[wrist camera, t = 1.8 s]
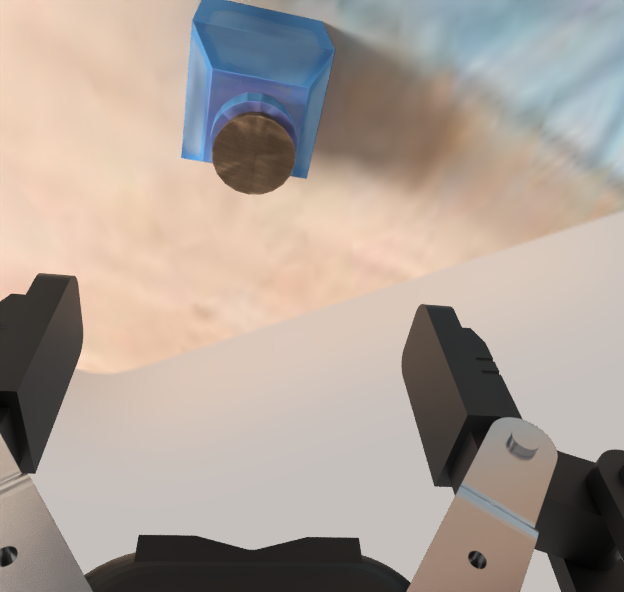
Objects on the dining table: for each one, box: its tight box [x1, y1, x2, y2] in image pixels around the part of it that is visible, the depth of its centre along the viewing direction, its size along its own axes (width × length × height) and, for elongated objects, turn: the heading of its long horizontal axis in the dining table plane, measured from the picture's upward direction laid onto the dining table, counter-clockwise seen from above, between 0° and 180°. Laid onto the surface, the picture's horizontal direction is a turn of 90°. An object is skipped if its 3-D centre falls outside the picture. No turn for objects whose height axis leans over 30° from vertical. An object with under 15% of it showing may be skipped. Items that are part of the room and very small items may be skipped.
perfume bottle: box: [181, 0, 335, 194], centre depth 26 cm, size 6×6×12 cm
